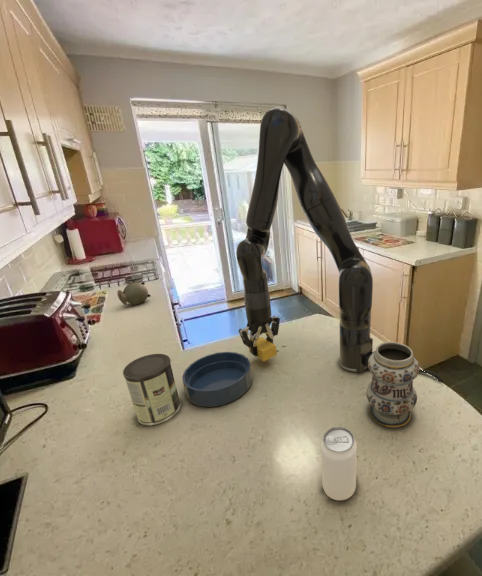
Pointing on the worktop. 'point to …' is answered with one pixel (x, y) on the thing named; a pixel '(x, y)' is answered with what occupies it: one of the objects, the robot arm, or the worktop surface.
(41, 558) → the worktop surface
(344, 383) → the worktop surface
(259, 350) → the sponge
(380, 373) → the apothecary jar
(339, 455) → the can
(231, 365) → the bowl
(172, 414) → the coffee can
